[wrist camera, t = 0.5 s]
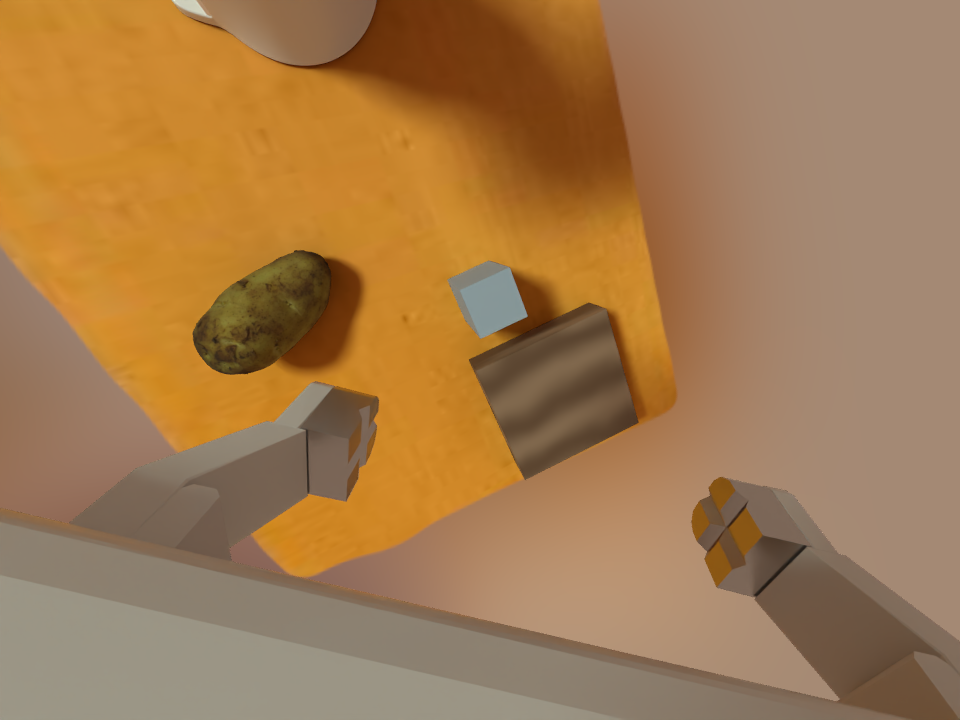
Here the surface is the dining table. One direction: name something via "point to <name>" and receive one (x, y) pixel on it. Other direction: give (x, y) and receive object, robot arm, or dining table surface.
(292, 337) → the potato
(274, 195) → the dining table surface
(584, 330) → the plinth
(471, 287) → the block
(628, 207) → the dining table surface
